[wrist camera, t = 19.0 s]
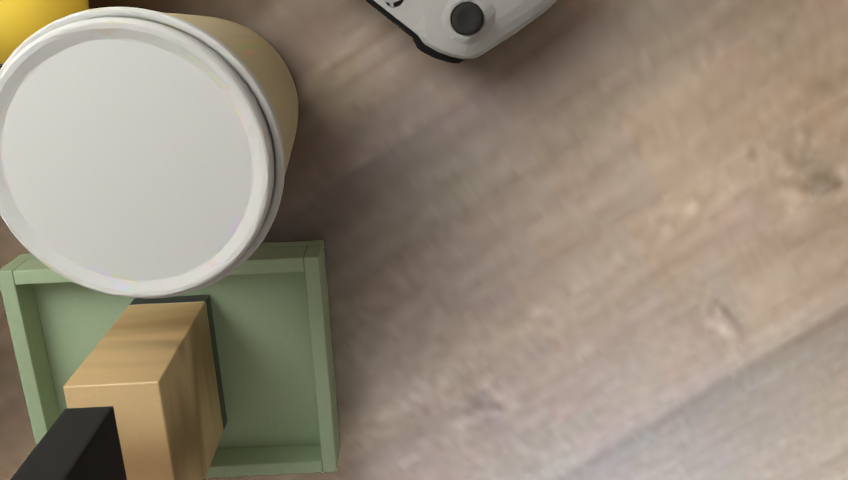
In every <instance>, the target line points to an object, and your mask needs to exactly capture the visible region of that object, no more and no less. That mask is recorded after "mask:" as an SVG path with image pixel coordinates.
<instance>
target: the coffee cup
mask: <svg viewBox="0 0 848 480" xmlns="http://www.w3.org/2000/svg"><path fill="white" fill-rule="evenodd" d="M298 112H299V108H298V97H297V92H296V87H295V84H294V81H293V79H292V76H291V74H290V72H289V69H288V67H287V66H286V64H285V62H284V61H283V59H282V58H281V57H280V55H279V54H278V53H277V51H276V50H275V49H274V48H273V47H272V46H271V45H270V44H269V43H268V42H267V41H266V40H265V39H264V38H262V37H261V36H260V35H258V34H257V33H256V32H254V31H252V30H251V29H249V28H247V27H245V26H242V25H240V24H238V23H235V22H232V21H229V20H225V19H220V18H215V17H209V16H198V15H186V14H175V13H162V12H158V11H152V10H147V9H142V8H133V7H103V8H96V9H89V10H85V11H81V12H78V13H74V14H70V15H68V16H66V17H63V18H61V19H58V20H56V21H54V22H52V23H50V24H48V25H47V26H45V27H43V28H41V29H40V30H38V31H37V32H35V33H34V34H33V35H31V36H30V37H28V38H27V39H26V40H25V41H24V42H23V43H22V44H21V45H20V46H19V47H18V48H16V49H15V50H14V52H13V53H12V54H11V55H10V57H9V58H8V59H7V60H6V61H5V63H4V64H3V66H2V68H1V69H0V215H1V216H2V218H3V219H4V221H5V223H6V224H7V226H8V227H9V229H10V230H11V231H12V233H13V234H14V235H15V236H16V238H17V239H18V240H19V241H20V243H21V244H22V245H23V246H24V247H25V248H26V249H27V250H28V251H29V252H30V253H31V254H32V255H33V256H35V257H36V258H37V259H38V260H39V261H41V262H42V263H43V264H44V265H46V266H47V267H49V268H50V269H51V270H53V271H54V272H56V273H57V274H59V275H61V276H63V277H64V278H66V279H68V280H70V281H72V282H74V283H76V284H78V285H81V286H83V287H86V288H89V289H92V290H95V291H98V292H102V293H105V294H109V295H114V296H122V297H130V298H144V299H151V298H166V297H173V296H179V295H183V294H187V293H191V292H194V291H197V290H199V289H202V288H205V287H207V286H209V285H211V284H213V283H215V282H217V281H219V280H221V279H223V278H224V277H226V276H227V275H229V274H230V273H232V272H233V271H234V270H236V269H237V268H238V267H239V266H240V265H242V264H243V263H244V262H245V261H246V260H247V259H248V258H249V257H250V256H251V255H252V254H253V253H254V252H255V250H256V249H257V248H258V246H259V245H260V244H261V243H262V241H263V240H264V238H265V236H266V235H267V233H268V231H269V230H270V228H271V226H272V224H273V221H274V219H275V217H276V215H277V212H278V208H279V205H280V202H281V198H282V193H283V188H284V179H285V173H286V170H287V166H288V163H289V159H290V155H291V151H292V147H293V144H294V140H295V136H296V131H297V124H298Z"/></svg>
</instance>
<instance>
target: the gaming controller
mask: <svg viewBox="0 0 848 480" xmlns="http://www.w3.org/2000/svg"><path fill="white" fill-rule="evenodd" d="M366 1H367V2H368V3H370V4H371V5H372V6H373V7H375V8H376V9H377V10H378V11H380V12H381V13H382V14H383V15H385V16H386V17H387V18H388V19H390V20H391V21H392V22H394V23H395V24H396V25H397V26H398V27H399V28H401V29H402V30H404V31H405V32H406V33H407V34H409V35H410V36H412V38H413V40H414V42H415V44H416V46H417V48H418V49H419V50H421V51H422V52H424V53H426V54H428V55H430V56H432V57H434V58H437V59H440V60H443V61H446V62H450V63H460V62H462V61H463V60H465V59H473V58H477V57H479V56H481V55H482V54H484V53H486V52H487V51H489V50H490V49H492V48H493V47H495V46H497V45H498V44H500V43H501V42H503V41H504V40H506V39H508V38H509V37H511V36H512V35H514V34H515V33H517V32H518V31H519V30H521V29H522V28H524V27H525V26H526V25H528V24H529V23H530V22H532V21H533V20H535V19H536V18H537V17H539V16H540V15H542V14H543V13H544V12H545V11H546V10H548V9H549V8H550V7H551V6H552V5H553V4H554V3H555V2H556V1H557V0H366Z"/></svg>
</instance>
